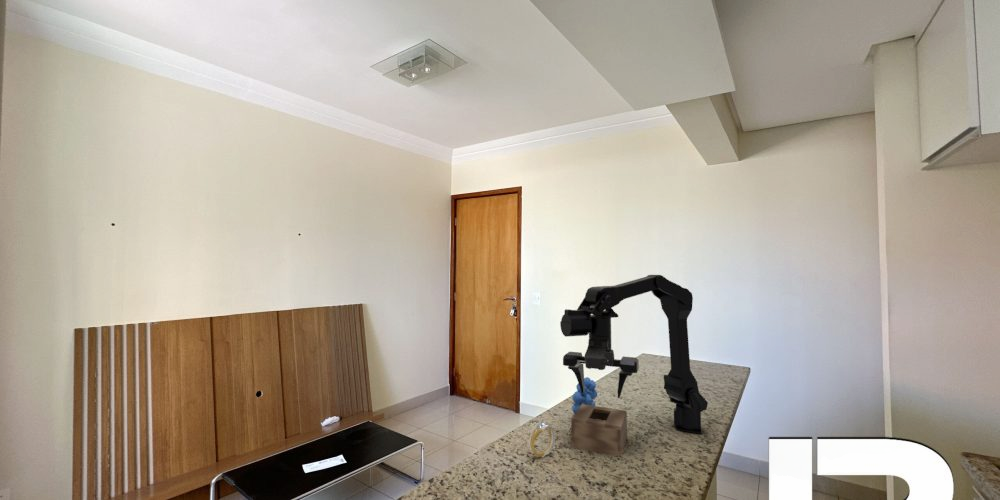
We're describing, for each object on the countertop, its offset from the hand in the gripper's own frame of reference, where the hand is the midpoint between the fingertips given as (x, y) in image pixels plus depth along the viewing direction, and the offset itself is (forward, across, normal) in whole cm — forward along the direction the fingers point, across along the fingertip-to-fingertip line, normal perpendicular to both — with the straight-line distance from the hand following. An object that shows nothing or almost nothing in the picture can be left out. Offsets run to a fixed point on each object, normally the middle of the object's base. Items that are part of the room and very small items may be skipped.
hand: (600, 395), depth 100 cm
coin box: (+12, 0, 0) cm, 12 cm away
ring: (+12, -11, -14) cm, 22 cm away
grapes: (+12, -8, +15) cm, 21 cm away
